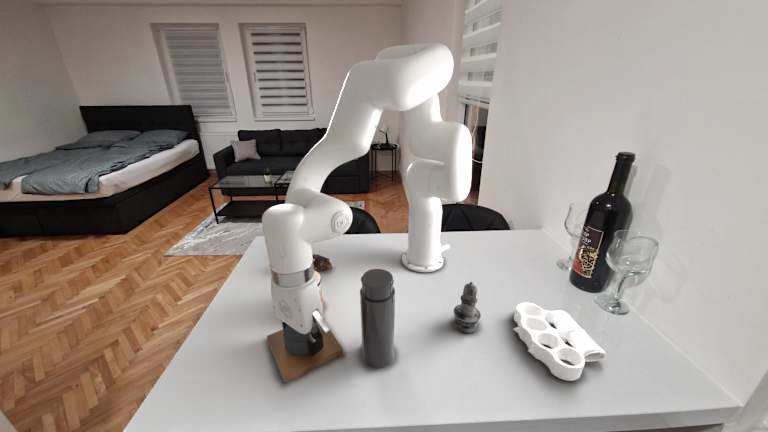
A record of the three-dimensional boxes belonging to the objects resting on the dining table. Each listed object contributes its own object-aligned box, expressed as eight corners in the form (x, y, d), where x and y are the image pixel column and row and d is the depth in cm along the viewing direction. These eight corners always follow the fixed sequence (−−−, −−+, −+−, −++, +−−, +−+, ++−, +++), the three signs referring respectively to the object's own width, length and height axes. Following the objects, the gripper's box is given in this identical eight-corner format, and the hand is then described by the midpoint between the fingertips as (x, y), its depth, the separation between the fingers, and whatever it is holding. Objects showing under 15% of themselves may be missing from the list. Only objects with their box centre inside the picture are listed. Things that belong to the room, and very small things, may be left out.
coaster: (320, 318, 71) (319, 313, 70) (343, 354, 62) (342, 348, 61) (267, 340, 65) (266, 335, 64) (284, 383, 56) (283, 378, 55)
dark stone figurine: (479, 319, 71) (486, 276, 66) (477, 337, 66) (485, 293, 61) (453, 313, 73) (458, 271, 68) (450, 330, 68) (455, 287, 63)
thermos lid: (301, 362, 58) (298, 349, 57) (277, 344, 62) (275, 331, 61) (328, 338, 64) (327, 326, 62) (305, 323, 67) (303, 311, 66)
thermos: (382, 337, 66) (382, 263, 58) (400, 358, 61) (402, 280, 53) (356, 351, 63) (352, 274, 55) (373, 373, 58) (371, 293, 50)
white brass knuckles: (616, 375, 57) (543, 384, 56) (555, 310, 74) (498, 315, 72) (621, 363, 56) (547, 371, 54) (558, 299, 72) (500, 304, 71)
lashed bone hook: (335, 259, 95) (277, 260, 94) (334, 246, 93) (275, 246, 93) (331, 276, 87) (267, 276, 86) (330, 262, 85) (265, 262, 84)
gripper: (247, 264, 58) (263, 334, 65) (308, 300, 48) (318, 377, 55) (281, 248, 63) (292, 314, 70) (341, 277, 54) (346, 350, 61)
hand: (303, 341), depth 63 cm, fingers closed on thermos lid, 7 cm apart
